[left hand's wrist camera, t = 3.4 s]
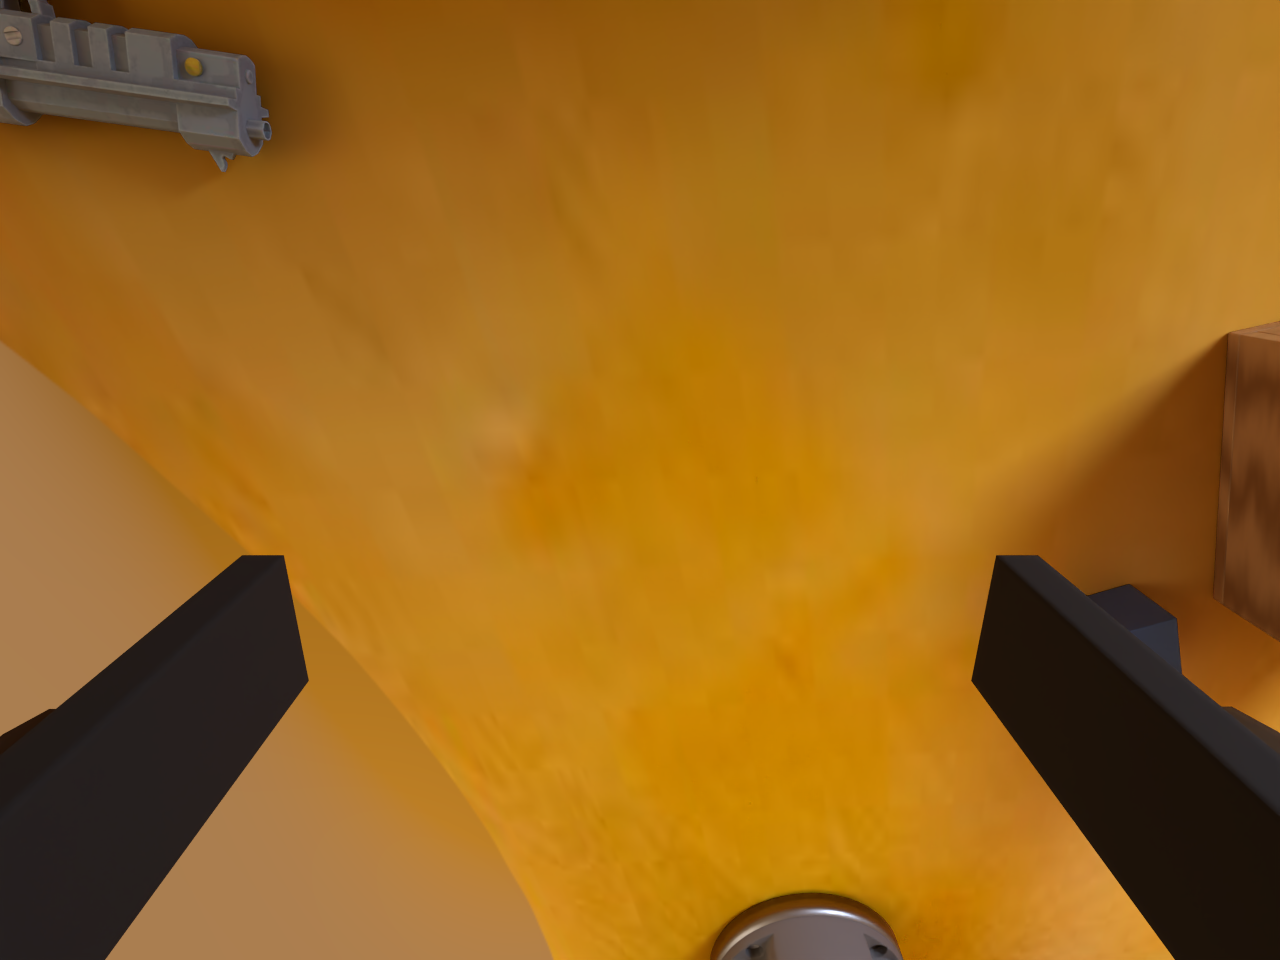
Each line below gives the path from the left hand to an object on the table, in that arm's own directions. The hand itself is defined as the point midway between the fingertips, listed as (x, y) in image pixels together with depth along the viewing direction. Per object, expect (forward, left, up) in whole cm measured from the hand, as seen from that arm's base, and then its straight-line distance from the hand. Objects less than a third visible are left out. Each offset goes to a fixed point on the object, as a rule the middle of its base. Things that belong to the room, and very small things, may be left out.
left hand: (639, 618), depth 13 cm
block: (-17, -30, -28) cm, 45 cm away
